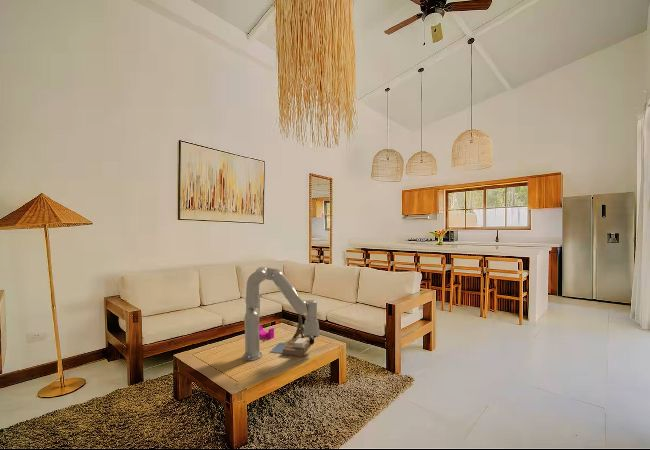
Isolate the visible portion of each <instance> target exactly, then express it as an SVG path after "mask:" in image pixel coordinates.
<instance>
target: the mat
mask: <svg viewBox="0 0 650 450" xmlns="http://www.w3.org/2000/svg"><path fill="white" fill-rule="evenodd" d="M287 344H288V343H284V342H278V343H277V344H276V345H275V346H274V347H273V348H272V349H271V350H270V351H269V353H273V354H282V355H283V348H284V347H285V346H286V345H287Z"/></svg>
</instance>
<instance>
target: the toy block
mask: <svg viewBox="0 0 650 450" xmlns="http://www.w3.org/2000/svg"><path fill="white" fill-rule="evenodd" d="M262 338H263V339H262ZM274 338H275V328H274V327H271V328H269V329H268V331H265V329H264V327H263V325H260V324H259V339H262V340H265V339H269V340H272V339H274Z"/></svg>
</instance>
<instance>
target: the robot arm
mask: <svg viewBox="0 0 650 450" xmlns="http://www.w3.org/2000/svg"><path fill="white" fill-rule="evenodd" d="M267 280H268V281H272V282H273V283H274V285H275V286H276V287H277V289H278V290H279V291H280V293H282V295H283V296H284V297H285V299H286V301H288V303H289V304H290V305H291V307H292V308H293V309H294V311H295V312H296V313H297V314H298V315H299V314H301V315H304V314H305V313H306V315H304V317H303V318H304V319H305V320H304V324H303V328H304V334H303V336H304V337H305V336H307V339H308V340H309V343H310V345H311V346H313V345H314V344H315V338H318V337H320V324H319V320H318V302H317V300H314V299H309V300H307V299H301V297H300V296H299V295H298V293H297V290H296V289H295V287H294V286H293V284H292V283H291V282H290V281H289V279H288V278H287V277H286V276H285V274H284V272H283V271H282V269H277V268H271V267H265V266H260V267H258V268H256V270H255V271H254V272H252V273H251V274H250V275H249V277H248V278H247V281H246V289H245V300H244V301H245V306H246V307H245V315H244V349H245V352H244V353H243V354H242V360H245V361H255V360H258V359H259V360H260V359H261V358H262V357H263V353H262V352H261V351H260V350H261V348H260V347H261V346H260V344H261V343H260V341H261V340H260V338H259V325H260V314H261V313H260V312H261V309H260V308H261V295H260V284H261V283H262V282H264V281H267Z"/></svg>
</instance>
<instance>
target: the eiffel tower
mask: <svg viewBox="0 0 650 450" xmlns="http://www.w3.org/2000/svg"><path fill="white" fill-rule="evenodd" d="M295 331H296V332H295V333H294V334H293V336H292V338H291V340H292V339H293V338H295V339H297V336H300V338H306V337H307V336H305V335H304V324H303V318H302V314H298V323H297V328H296V330H295ZM307 338H308V337H307Z"/></svg>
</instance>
